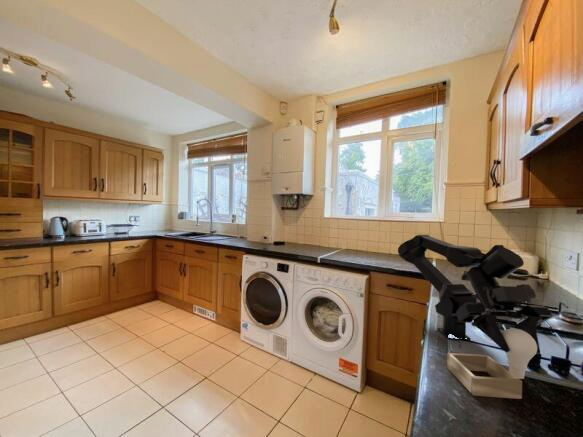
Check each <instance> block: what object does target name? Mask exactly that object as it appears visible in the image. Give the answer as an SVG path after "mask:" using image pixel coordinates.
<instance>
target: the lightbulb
mask: <svg viewBox="0 0 583 437" xmlns="http://www.w3.org/2000/svg"><path fill="white" fill-rule="evenodd" d="M501 333H502V335H503V337H504V339H505V341H506V343H507V345H508V347H509V350H510V351H509V352H505V354H506V359H507V364H508V371H509V372H511V373H512V374H513V375H515V376H516V377H517V378H518V379H520V380H524V379H525V376H526V375H525V373H526V370H527V369H528V364H529V362H530V360H532V359H533V357H534V356H535V355H537V354H536V352H537V344H536V342H535V340H534V339H533V338H532V336H531V335H529V334H528V333H526V332H525V331H523V330H520V329H516V328H514V327H513V328H507V329H505V330H503V331H501Z"/></svg>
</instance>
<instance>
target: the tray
mask: <svg viewBox="0 0 583 437" xmlns="http://www.w3.org/2000/svg"><path fill="white" fill-rule="evenodd" d="M446 356H447V357H446V358H447V359H446V368H447V369H448V371H450V372H451V373H452V375H453V376H454V377H455V378H456V379H457V380H458V381H459V382H460V383H461V384H462V385H463V386H464V387H465V388H466V389H467V391H469V393H470V394H472V396H475V397H488V398H489V397H490V398H502V399H504V398H505V399H515V400H516V399H518V400H521V399H522V398H523V381H522V379H518V378H517V377H516V376H515V375H513V374H512V373H511V372H509V369H507V368H506V367H504V366H503V365H501V364H500V363H499V362H497V361H496V360H495V359H493V358H492V357H491V356H489V355H488V354H478V353H477V354H476V353H475V354H474V353H473V354H472V353H457V352H447V354H446ZM471 371H472V372H471ZM473 371H474V372H486V373H487V374H489V376H476V375H475V374H473Z"/></svg>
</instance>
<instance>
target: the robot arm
mask: <svg viewBox="0 0 583 437" xmlns="http://www.w3.org/2000/svg"><path fill="white" fill-rule="evenodd" d="M428 250H429V251H431V252H433V253H436V254H437V255H440V256H443V257H444V258H445V259H446V261H448V262H449V263H450V264H452V265H453V266H455V267H456V268H470V269H468V270H463V274H461V281H467V282H468V281H469V283H470V285H471V286H472V288H473V291H474V292H475V294H474V292H472V291H470V290H469V289H468V288H467V286H466V285H464V284H463V283H459V284H458V283H457V284H456V283H452V281H450V280H449V279H448V278H447V277H446V276H445V274H443V273H442V271H440V270H439V268H437V267H436V266H435V264H433V263H432V262H431V261H430V260H429V259H428V258H427V256H426V252H427V251H428ZM397 254H398V255H399V258H401V259H402V260H404V261H405V262H408V263H410V264H412V265H413V266H415V268H416V269H417V270H418V271H419V272H420V274H421V275H423V277H424V278H425V279H426V280H427V281H428V282H429V283H430V284H431V286H433V288H434V289H435V290H436V291H437V292H438V296H439V297H438V298H439V301H438V302H437V303H436V304H435V305H434V308H435V311H436V313H437V314H439V315H441V316H442V325H441V326H442V327H437V331H438V332H440V333H441V334H442V335H443V336H444V337H446V338H447V337H448V335H449V334H452V335H454V336H455V337H457V338H462V339H465V338H467V339H472V338H471V337H469V335H467V325H466V324H467V323H469V324H471V326H472V327H475V328H477V329H479V330H480V331H481V332H482V333H484V335H486V336H487V337H488V338H490V340H492V341H493V342H494V343H495V345H497V346H498V347H499V348H500V349H501V350H503V352H505V353H506V352H509V351H510V350H509V347H508V345H507V343H506V341H505V339H504V337H503V335H502V331H501V329H500V327H499V325H498V321H497V319H498V318H499V319H514V321H515V323H516V324H515V325H513V328H516V329H520V330H523V331H525V332H526V333H528V334H529V335H531V336H532V338H533V339H534V340H535V342H536V344H537V352H536V354H535V355H539V354H541V350H540V345H539V344H540V343H539V338H538V333H537V332H538V331H537V326H539V325H541V324H543V323H544V322H547V321H548V320H550V319H552V318H553V317H554V315H553V313H551V311H550V310H549V308H548V307H546V306H543V305H535V304H534V305H533V304H532V305H531V304H526V305H525V306H523V307H522V308H520V309H518V310H517V309H515V308H518V307H519V306H520V303H525V302H526V303H531V302H532V301H531V299H535V298H536V297H537V295H536V293H535V290H534V289H533V287H532V286H531V285H530V284H525V283H524V284H517V285H516V286H510V285H509V286H508V285H507V286H504V285H501V284H500V283H499V281H498V279H500V280H501V279H502V280H503V279H505V278H506V277H508V276H509V275H511V274H513V273H514V272H515V271H517V270H519V269H520V268H521V267H523V266H524V260H523V258H522V257H521V256H520V254H517V253H516V252H514V251H512V250H511V249H509V248H506V247H505V246H504V245H503V244H495V245H493V246H492V247H491V248H490V250H489V251H488V252H486V253H485V252H484V253H483V252H482V250H481V249H479V248H478V247H472V246H465V245H456V244H452V243H449V242H446V241H445V240H444V241H443V240H441V239H438V238H436V237H433V236H430V235H428V234H417V235H415V236H414V237H413V238H410V239H408V240H405V241H404V242H403V243H401V244H400V245H399V247H398V249H397ZM477 300H478V301H479V302H477Z"/></svg>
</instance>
